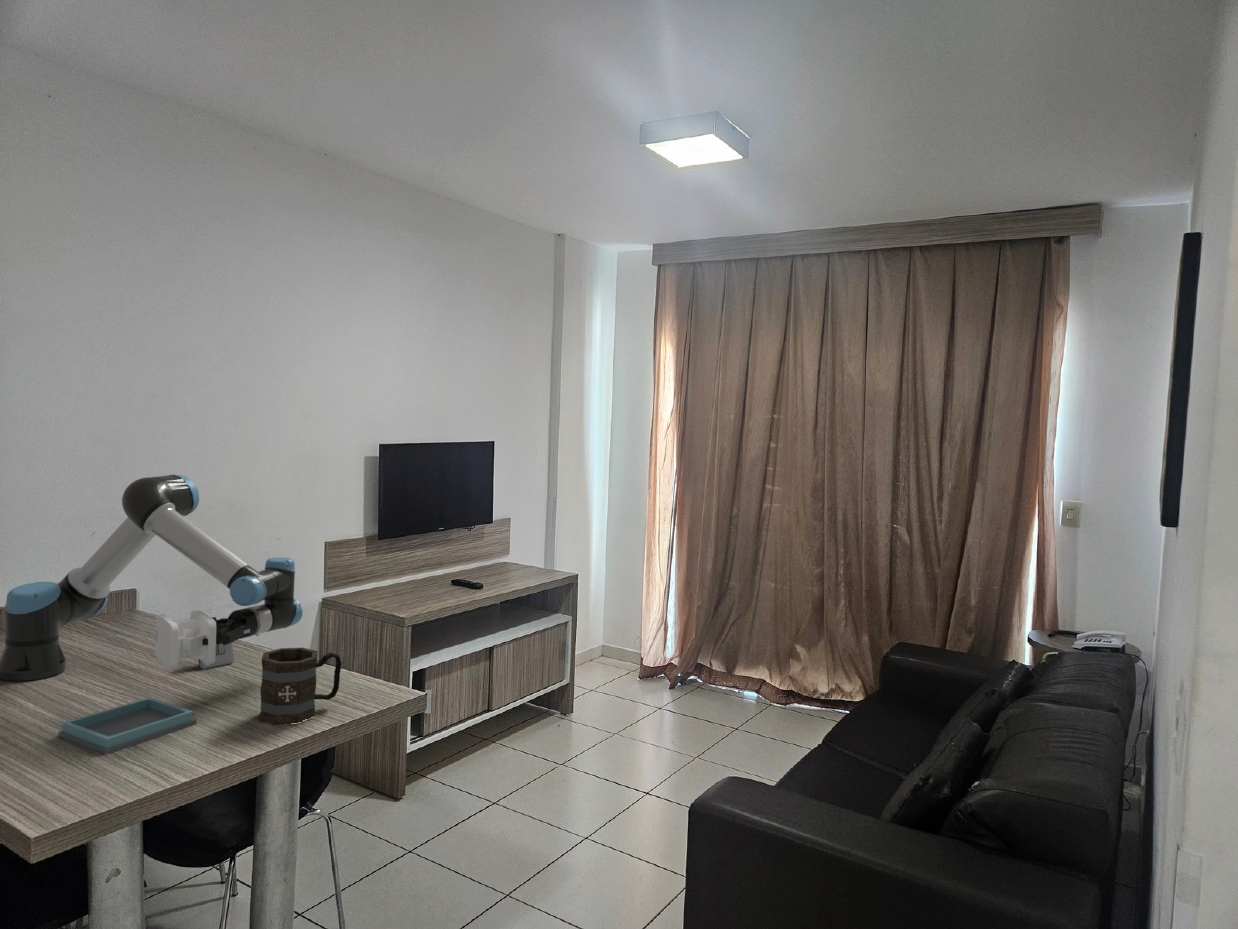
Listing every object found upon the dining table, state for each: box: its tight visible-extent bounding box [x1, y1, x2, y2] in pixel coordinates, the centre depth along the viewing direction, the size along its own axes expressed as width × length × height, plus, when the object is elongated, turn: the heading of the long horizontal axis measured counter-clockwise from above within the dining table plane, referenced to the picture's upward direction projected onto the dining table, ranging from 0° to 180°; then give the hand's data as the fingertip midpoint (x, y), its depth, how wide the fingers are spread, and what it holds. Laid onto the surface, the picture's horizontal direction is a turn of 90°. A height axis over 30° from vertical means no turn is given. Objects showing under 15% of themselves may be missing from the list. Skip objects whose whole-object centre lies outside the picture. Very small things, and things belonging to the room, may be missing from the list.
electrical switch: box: [197, 642, 235, 670], centre depth 233 cm, size 9×5×9 cm, turn 141°
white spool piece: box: [154, 609, 216, 672], centre depth 199 cm, size 15×11×12 cm
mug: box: [258, 647, 342, 726], centre depth 201 cm, size 20×14×15 cm
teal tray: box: [58, 697, 197, 755], centre depth 185 cm, size 17×21×3 cm
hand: (172, 640), depth 195 cm, fingers closed on white spool piece, 11 cm apart
